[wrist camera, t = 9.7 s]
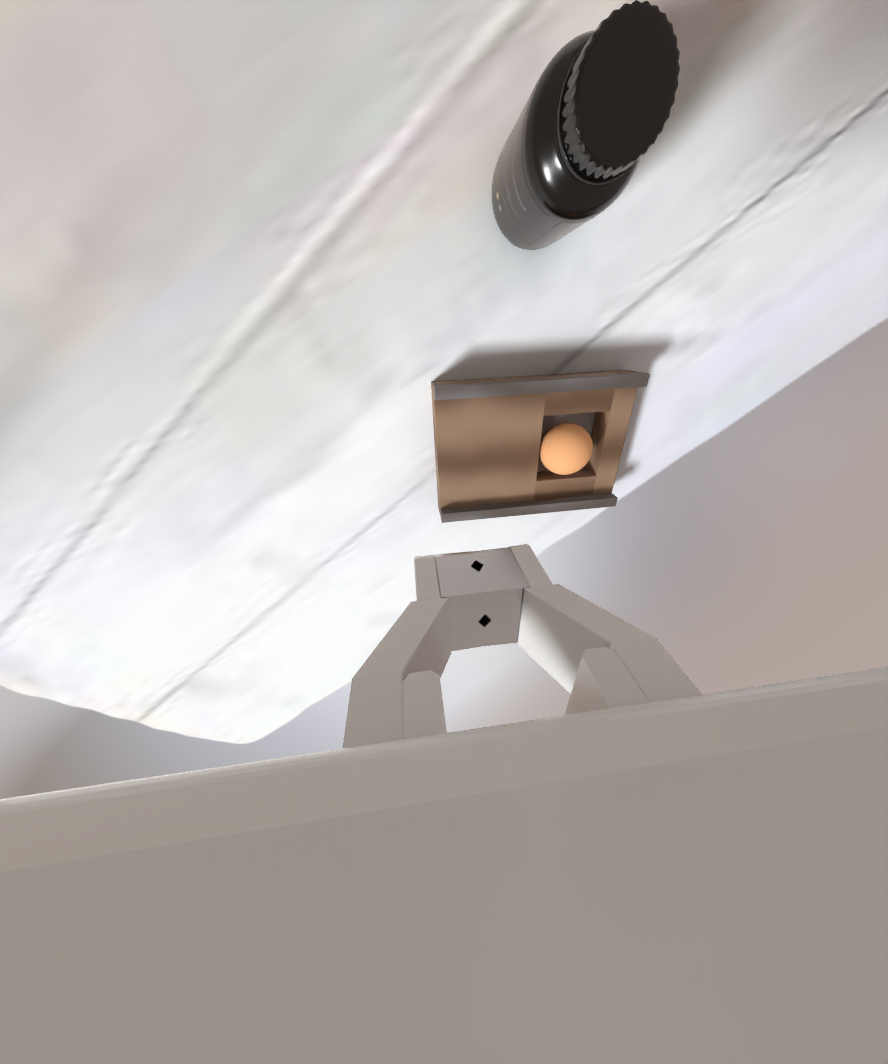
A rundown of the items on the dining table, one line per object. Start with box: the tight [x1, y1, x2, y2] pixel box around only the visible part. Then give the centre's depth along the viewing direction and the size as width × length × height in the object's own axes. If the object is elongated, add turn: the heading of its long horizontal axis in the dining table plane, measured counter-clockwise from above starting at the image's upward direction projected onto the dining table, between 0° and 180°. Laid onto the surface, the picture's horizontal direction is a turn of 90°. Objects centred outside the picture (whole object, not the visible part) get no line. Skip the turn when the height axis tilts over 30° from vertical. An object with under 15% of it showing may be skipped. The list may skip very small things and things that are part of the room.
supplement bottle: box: [492, 0, 680, 250], centre depth 19 cm, size 7×7×12 cm
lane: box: [431, 370, 650, 523], centre depth 33 cm, size 13×19×4 cm
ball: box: [539, 423, 593, 475], centre depth 33 cm, size 5×5×5 cm
